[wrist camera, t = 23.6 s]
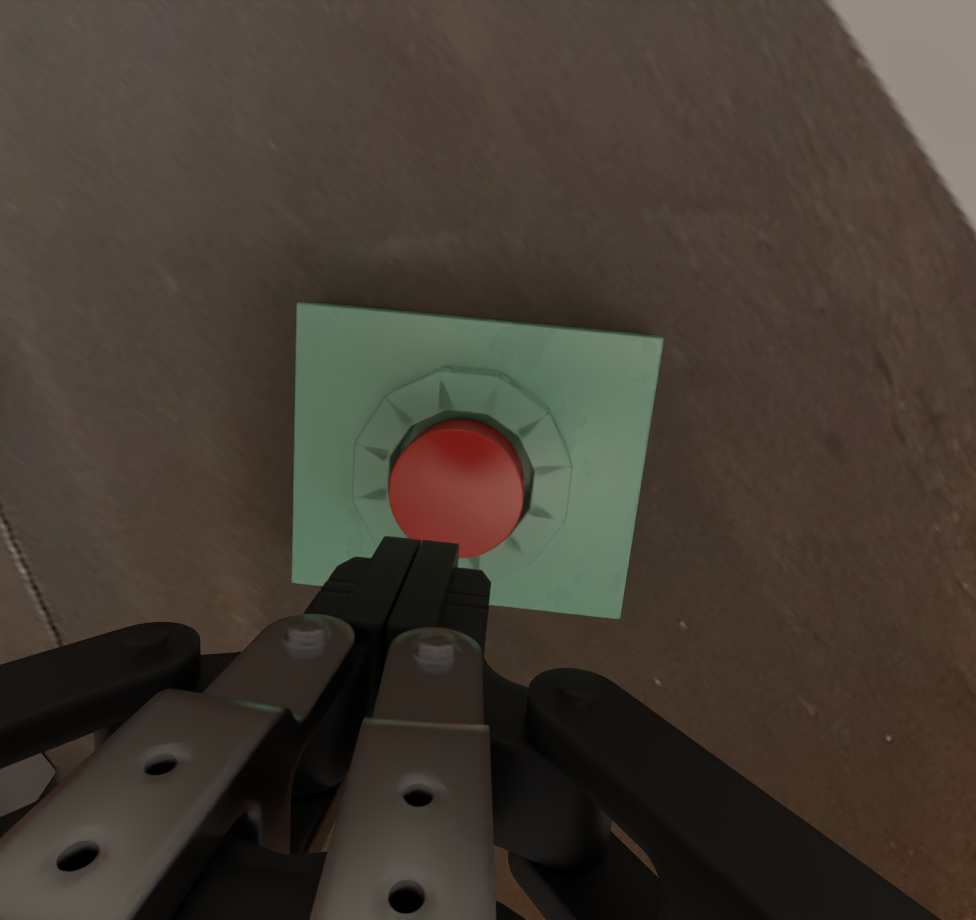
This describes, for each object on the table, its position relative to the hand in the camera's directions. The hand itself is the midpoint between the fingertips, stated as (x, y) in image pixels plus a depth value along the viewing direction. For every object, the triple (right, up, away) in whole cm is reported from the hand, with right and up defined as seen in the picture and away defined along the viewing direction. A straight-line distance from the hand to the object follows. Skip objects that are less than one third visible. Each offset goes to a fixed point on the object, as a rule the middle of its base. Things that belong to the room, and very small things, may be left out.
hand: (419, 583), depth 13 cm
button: (+1, +2, +8) cm, 8 cm away
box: (+1, +3, +11) cm, 11 cm away
